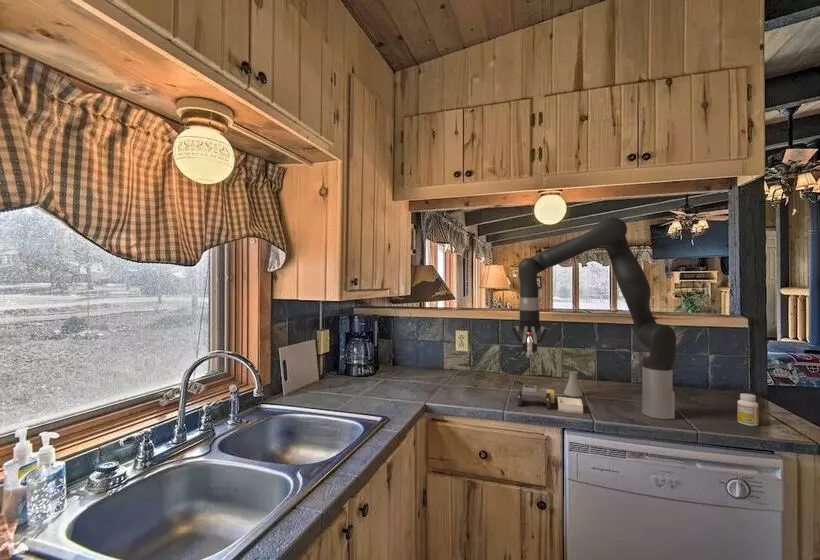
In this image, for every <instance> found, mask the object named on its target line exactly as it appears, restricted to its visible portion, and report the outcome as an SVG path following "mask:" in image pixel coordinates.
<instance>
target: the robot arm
mask: <svg viewBox="0 0 820 560" xmlns="http://www.w3.org/2000/svg"><path fill="white" fill-rule="evenodd" d="M627 226H628V225H627V224H626V222H625V221H624V220H623V219H620V218H618V217H615V216H609V217H605V218H603V219H601V220H600V221H599V222H598V223H597V225H596V227H594V228H592V229H590V230H588V231H587V232H585V233H583V234H581V235H578V236H576V237H573V238H571V239H568V240H566V241H562V242H560V243H557V244H555V245H552V246H551V247H548V248H547V249H544V250H543V251H542V252H541V253H539V254H536V255H533V256H531V257H526V258H523V259H522V260H521V261H519V263H518V278H519V284H520V287H519V302H518V303H519V307H518V308H519V322H518V325H516V326H512V332H513V333H514V335H515V338H516V340H517V342H520V343H522V344H521V345H522V352H524V354H526V336H527V332H532V335H533V353H534V354H536V352H538V344H539V343H542V342H543V340H544V338H545V335H546V334H547V332H548V328H547V327H545V326H542V325H541V322H540V321H541V319H540V318H541V317H540V316H541V315H540V309H541V308H540V307H541V306H540V299H539V297H540V296H539V284H538V274H539V273H542V272H544V271H545V270H547V269H549V268H552V267H554V266H558V265H559V264H562V263H565V262H566V261H569V260H570V259H573V258H574V257H577V256H579V255H581V254H583V253H586V252H588V251H590V250H594V249H596V248H599V247H604V249H605V251H606V252H607V255H608V257H609V259H610V263H611V267H612V271H613V273H614V277H615V280H616V282H617V284H618V287H619V290H620V292H621V294H622V296H623V298H624V301H625V304H626V306H627V309H628V311H629V313H630V316H631V319H632V323H633V327H634V329H635V333H636V336H637V338H638V340H639V342H640V343H641V344H642V346H645V347H648V348H649V355H648V356H646V357H643V359H642V360H641V361H642V362H641V363H642V365H641V367H642V372H641V373H642V378H641V380H642V381H641V383H642V387H641V388H642V389H641V390H642V394H641V396H642V397H641V398H642V399H641V400H642V404H641V405H642V406H641V408H642V410H641V411H642V415H645V416H647V417H649V418H653V419H659V420H675V418H676V415H675V414H676V412H675V411H676V407H675V406H676V405H675V404H676V403H675V401H676V400H675V397H676V396H675V391H674V390H673V385H674V384H673V381H674V379H673V377H674V376H673V375H674V374H673V371H674V370H673V367H674V364H675V361H676V352H677V336H676V335H677V334H676V332H675V330H674V328H673V327H671V326H669V325H667V324H662V323H657V322H656V320H655V318H654V315H653V313H652V310H651V307H650V301H651V286H650V283H649V281H648V279H647V275H646V274H645V272H644V269H643V267H642V266H641V264H640V262H639V261H638V259H637V258H636V256H635V255H634V253H633V251H632V250H631V248H630V246H629V243H628V239H627V237H626V236H627V233H628V232H627V231H628V227H627ZM519 329H520V331H521V332H522V334H523V336H522V337H521V336H520V333H519ZM539 330H540V332H541V334H540V335H539V338H537V333H538V332H539Z"/></svg>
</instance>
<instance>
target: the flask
mask: <svg viewBox="0 0 820 560" xmlns="http://www.w3.org/2000/svg"><path fill="white" fill-rule="evenodd" d="M568 373H569V378H568V381H567V384H566V386H565V388H564V391H563V394H564V395H565V396H567V397H569V398H580V397H583V396H584V395H583V391H582V389H581V387H580V384H579V381H578V373H579V372H578V371H576V370H575V371H574V370H569V371H568Z"/></svg>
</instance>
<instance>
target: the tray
mask: <svg viewBox="0 0 820 560" xmlns="http://www.w3.org/2000/svg"><path fill="white" fill-rule="evenodd" d="M557 411H558V412H561V411H562V412H564V413H570V414H571V413H573V414H584V405H583V401H582V398H577V397H565V396H557Z"/></svg>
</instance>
